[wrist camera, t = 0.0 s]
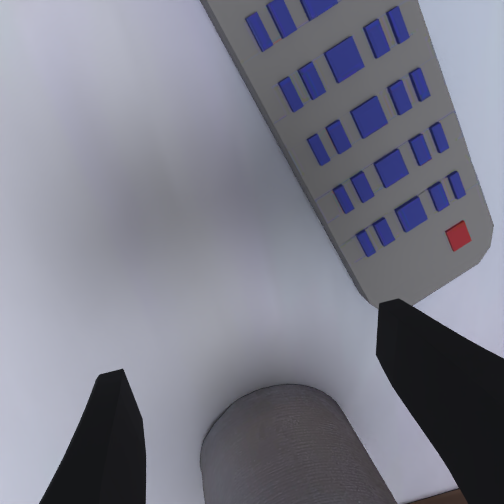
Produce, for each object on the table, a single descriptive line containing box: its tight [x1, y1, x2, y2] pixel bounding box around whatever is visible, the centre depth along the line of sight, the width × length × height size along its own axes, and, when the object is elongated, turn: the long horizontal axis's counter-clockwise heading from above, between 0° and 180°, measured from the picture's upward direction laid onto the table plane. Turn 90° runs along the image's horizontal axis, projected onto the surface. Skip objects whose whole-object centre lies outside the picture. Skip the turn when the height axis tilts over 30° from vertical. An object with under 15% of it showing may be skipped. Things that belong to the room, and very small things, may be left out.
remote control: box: [200, 0, 494, 309], centre depth 20 cm, size 8×23×2 cm, turn 31°
